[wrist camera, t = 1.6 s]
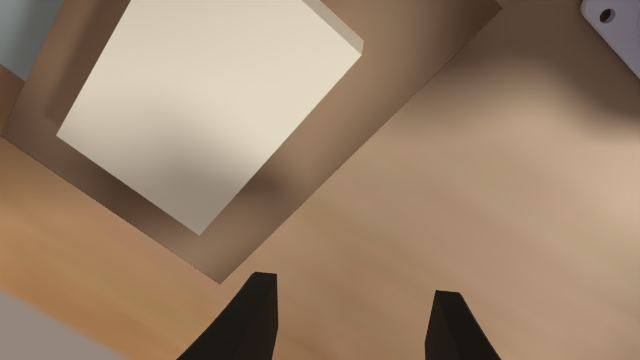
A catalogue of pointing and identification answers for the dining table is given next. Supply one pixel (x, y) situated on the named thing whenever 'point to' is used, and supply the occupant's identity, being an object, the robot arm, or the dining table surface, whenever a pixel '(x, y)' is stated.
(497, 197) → the dining table surface
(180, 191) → the cream rectangular block
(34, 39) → the mat
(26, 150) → the brown flat block
